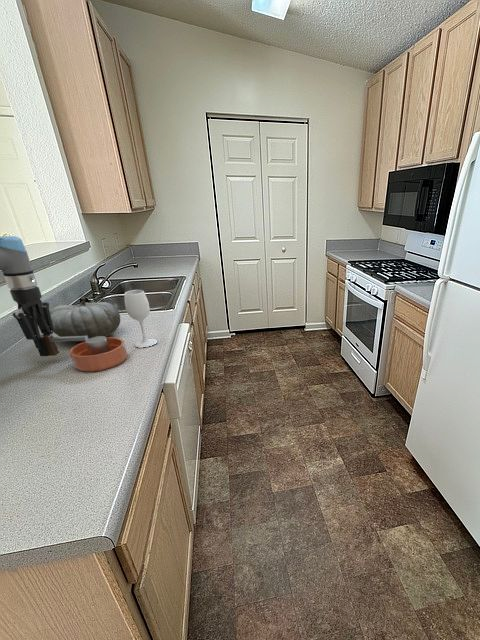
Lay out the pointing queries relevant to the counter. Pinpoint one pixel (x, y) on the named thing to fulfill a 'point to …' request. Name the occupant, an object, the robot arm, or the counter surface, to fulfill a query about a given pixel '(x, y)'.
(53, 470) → the counter surface
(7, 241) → the robot arm
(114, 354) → the bowl
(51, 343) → the ladle
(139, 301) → the wineglass
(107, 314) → the gourd
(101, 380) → the counter surface
